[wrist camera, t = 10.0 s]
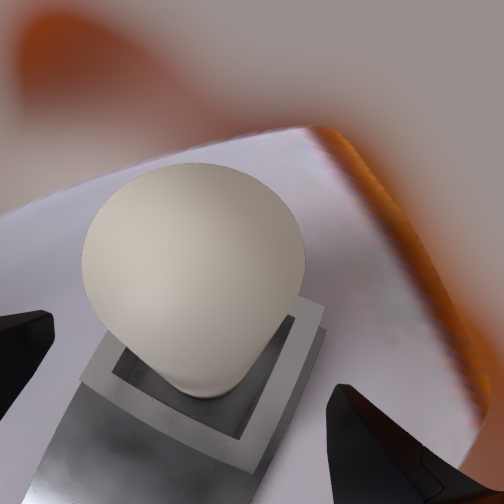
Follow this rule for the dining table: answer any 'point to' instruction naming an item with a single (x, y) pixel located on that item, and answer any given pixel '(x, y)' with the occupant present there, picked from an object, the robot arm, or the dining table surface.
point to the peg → (194, 272)
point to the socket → (175, 427)
